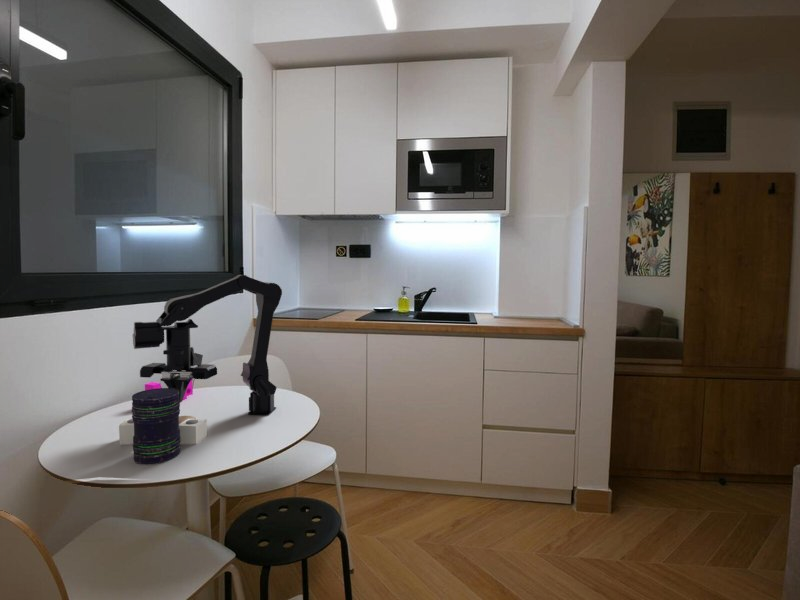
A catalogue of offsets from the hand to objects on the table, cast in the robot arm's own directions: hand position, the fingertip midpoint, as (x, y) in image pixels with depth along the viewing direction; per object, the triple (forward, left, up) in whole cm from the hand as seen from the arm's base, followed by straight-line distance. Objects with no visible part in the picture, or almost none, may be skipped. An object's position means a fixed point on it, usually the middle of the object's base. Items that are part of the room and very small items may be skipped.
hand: (179, 402), depth 115 cm
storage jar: (-4, +15, -8) cm, 18 cm away
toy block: (+18, -25, -8) cm, 32 cm away
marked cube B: (+8, +7, -8) cm, 13 cm away
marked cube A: (-7, +6, -8) cm, 12 cm away
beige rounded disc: (0, 0, -8) cm, 8 cm away
